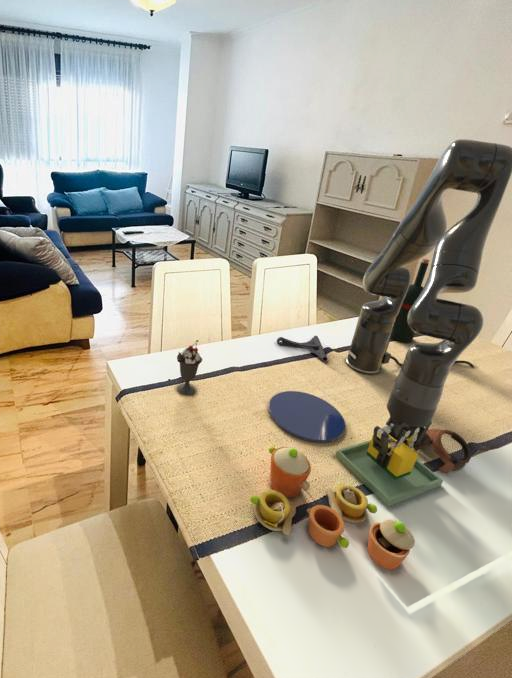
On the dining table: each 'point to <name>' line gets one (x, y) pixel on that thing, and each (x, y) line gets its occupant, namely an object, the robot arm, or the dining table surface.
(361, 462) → the dish
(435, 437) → the pottery mug
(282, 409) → the plate
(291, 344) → the bracket
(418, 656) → the dining table surface
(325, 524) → the toy tea set
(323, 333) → the dining table surface
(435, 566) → the dining table surface
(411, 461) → the sponge
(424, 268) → the wine bottle
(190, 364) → the sundae
